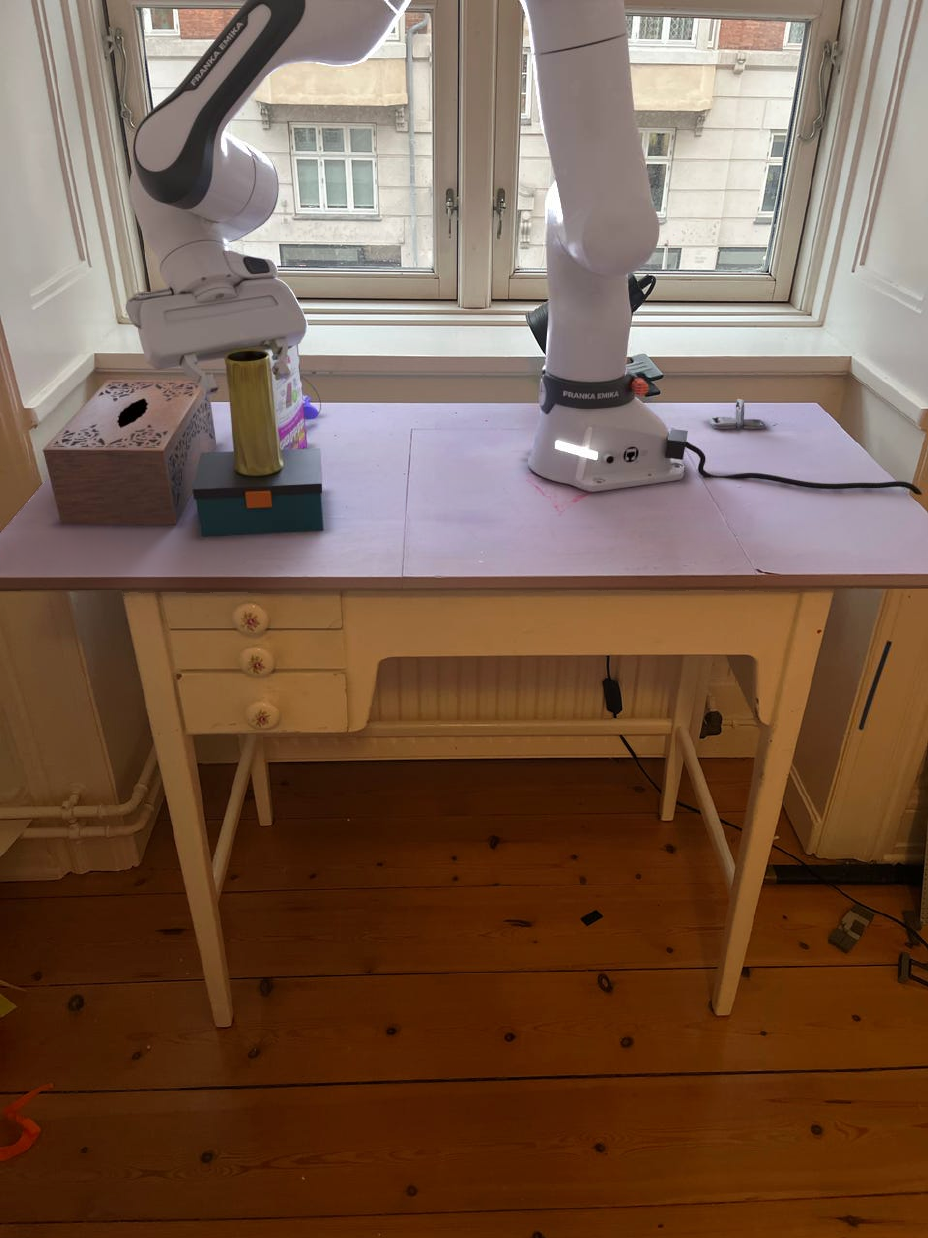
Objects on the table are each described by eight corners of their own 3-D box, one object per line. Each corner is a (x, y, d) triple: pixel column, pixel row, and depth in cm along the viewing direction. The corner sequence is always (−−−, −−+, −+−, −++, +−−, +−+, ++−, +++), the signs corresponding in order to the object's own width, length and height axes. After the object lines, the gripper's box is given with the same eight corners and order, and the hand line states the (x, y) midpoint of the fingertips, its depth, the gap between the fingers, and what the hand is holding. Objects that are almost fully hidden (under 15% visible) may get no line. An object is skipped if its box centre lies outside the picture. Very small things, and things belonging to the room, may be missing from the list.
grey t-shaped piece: (713, 429, 149) (718, 403, 146) (708, 422, 151) (712, 397, 149) (765, 429, 149) (770, 403, 147) (759, 422, 152) (764, 396, 149)
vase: (293, 467, 117) (283, 355, 109) (253, 481, 113) (240, 366, 106) (264, 453, 121) (252, 344, 113) (224, 467, 117) (209, 354, 109)
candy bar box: (277, 443, 141) (266, 334, 132) (308, 446, 140) (299, 336, 131) (248, 472, 131) (234, 357, 123) (281, 475, 131) (270, 360, 122)
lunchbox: (323, 491, 127) (320, 446, 123) (325, 532, 116) (321, 485, 113) (207, 496, 125) (201, 451, 121) (199, 539, 114) (191, 491, 111)
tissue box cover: (119, 445, 139) (106, 380, 133) (216, 446, 139) (207, 380, 134) (61, 523, 117) (42, 449, 112) (176, 524, 118) (163, 450, 112)
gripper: (123, 279, 105) (169, 387, 103) (286, 258, 115) (330, 356, 114) (117, 310, 110) (160, 413, 109) (273, 288, 121) (315, 382, 119)
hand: (248, 384), depth 111 cm, fingers open, 8 cm apart
